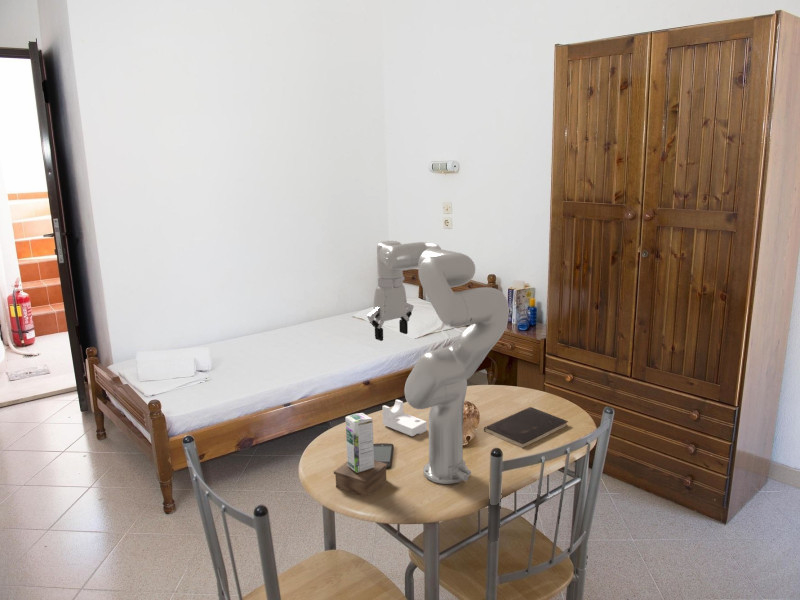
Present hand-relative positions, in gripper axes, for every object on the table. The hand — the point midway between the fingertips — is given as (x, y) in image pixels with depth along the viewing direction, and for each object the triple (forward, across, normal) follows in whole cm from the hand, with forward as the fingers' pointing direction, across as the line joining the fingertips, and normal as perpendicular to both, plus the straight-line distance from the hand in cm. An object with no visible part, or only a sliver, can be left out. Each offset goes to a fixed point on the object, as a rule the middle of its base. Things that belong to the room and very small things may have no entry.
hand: (391, 336), depth 194 cm
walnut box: (+34, +25, +16) cm, 45 cm away
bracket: (+34, -6, -1) cm, 34 cm away
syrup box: (+28, +25, +16) cm, 41 cm away
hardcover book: (+34, -35, +25) cm, 55 cm away
